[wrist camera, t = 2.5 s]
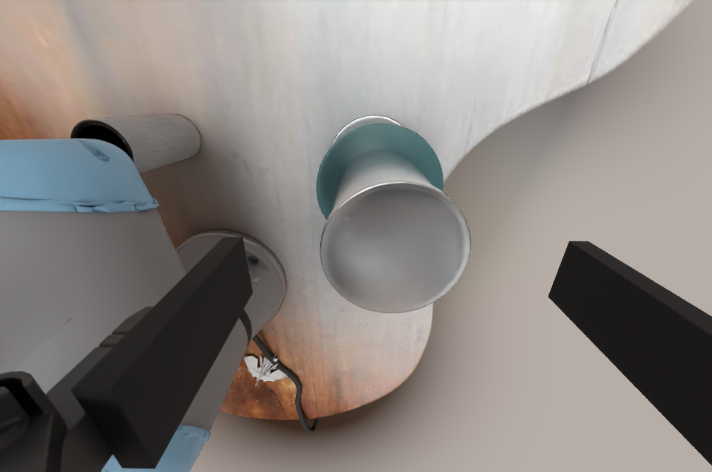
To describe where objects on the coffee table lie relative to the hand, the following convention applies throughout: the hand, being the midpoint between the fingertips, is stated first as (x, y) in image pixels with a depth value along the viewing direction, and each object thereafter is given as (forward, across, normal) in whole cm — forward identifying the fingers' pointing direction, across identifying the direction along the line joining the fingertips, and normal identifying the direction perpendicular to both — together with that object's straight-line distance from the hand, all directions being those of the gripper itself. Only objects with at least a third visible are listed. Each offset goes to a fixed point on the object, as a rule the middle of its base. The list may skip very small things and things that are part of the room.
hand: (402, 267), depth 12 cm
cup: (+11, 0, 0) cm, 11 cm away
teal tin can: (+22, 0, 0) cm, 22 cm away
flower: (+22, +16, +32) cm, 42 cm away
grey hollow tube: (+22, +21, -3) cm, 31 cm away
